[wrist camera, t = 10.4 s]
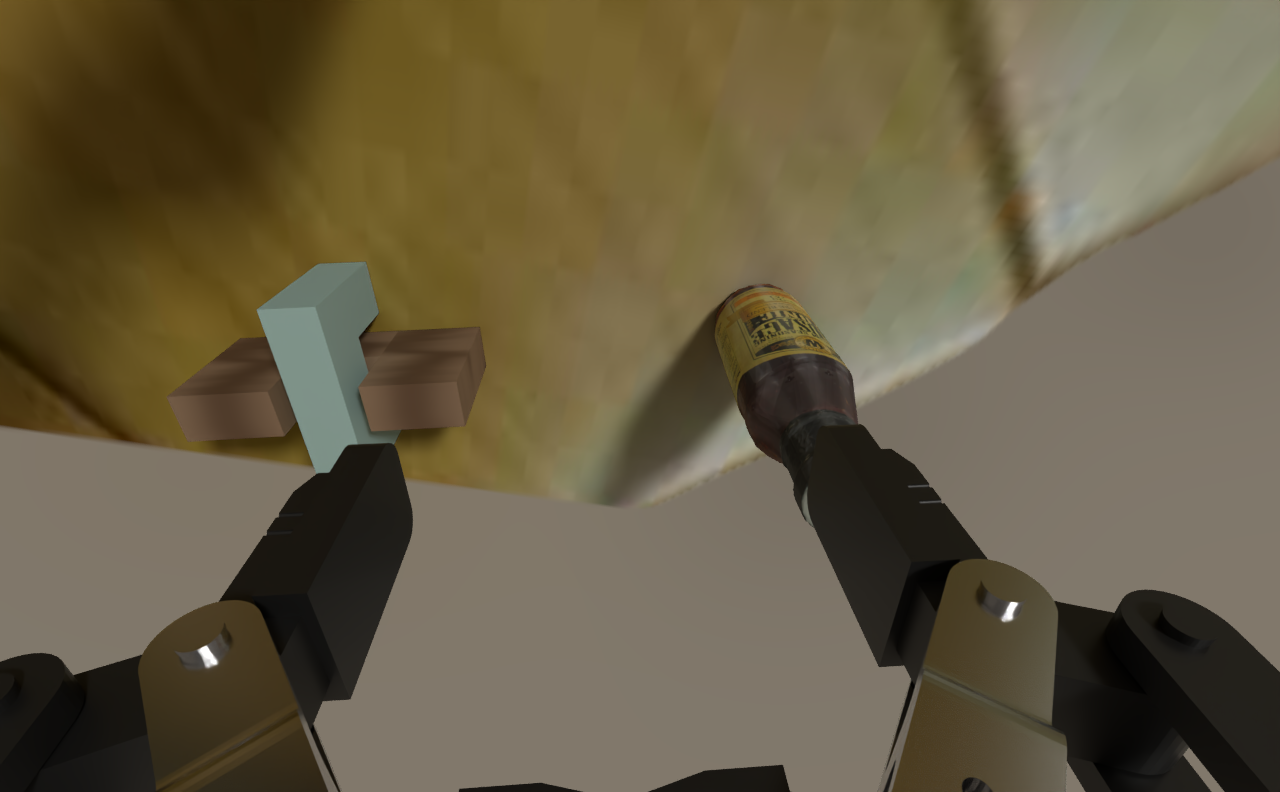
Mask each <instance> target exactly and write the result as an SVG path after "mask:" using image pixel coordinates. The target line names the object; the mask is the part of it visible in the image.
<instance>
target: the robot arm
mask: <svg viewBox="0 0 1280 792" xmlns="http://www.w3.org/2000/svg"><path fill="white" fill-rule="evenodd" d="M807 504H808V511H809V515H810V519H811V521H812V524H813V526H814V528H815V530H816V532H817V534H818V537H819V539H820V541H821V543H822V545H823V547H824V549H825V552H826V554H827V556H828V558H829V560H830V562H831V564H832V566H833V569H834V571H835V573H836V575H837V577H838V580H839V582H840V584H841V586H842V588H843V590H844V593H845V595H846V597H847V599H848V601H849V603H850V606H851V608H852V610H853V612H854V614H855V616H856V618H857V621H858V623H859V625H860V627H861V629H862V631H863V634H864V636H865V638H866V640H867V642H868V644H869V646H870V649H871V651H872V653H873V655H874V657H875V659H876V661H877V664H878V666H879V667H887V666H901V665H902V666H903V665H904V666H905V668H906V669H907V671H908V673H909V675H910V678H911V681H910V683H909V687H908V689H907V692H906V696H905V699H904V703H903V706H902V710H901V713H900V716H899V720H898V723H897V727H896V730H895V734H894V737H893V741H892V744H891V747H890V751H889V754H888V758H887V761H886V765H885V768H884V772H883V775H882V778H881V782H880V785H879V788H878V792H1066V769H1067V762H1068V764H1069V765H1070V767H1071V769H1072V770H1073V772H1074V773H1075V775H1076V776H1077V778H1078V780H1079V782H1080V783H1081V785H1082V787H1083V788H1084V790H1085V791H1086V792H1211V791H1210V789H1209V788H1208V787H1207V786H1206V784H1205V783H1204V782H1203V780H1202V779H1201V778H1200V777H1199V775H1198V774H1197V773H1196V771H1195V770H1194V769H1193V768H1192V766H1191V765H1190V764H1189V762H1188V761H1187V760H1186V759H1185V757H1184V756H1183V754H1184V753H1185V751H1186V750H1187V749H1188V748H1190V749H1191V750H1192V751H1193V753H1194V754H1195V755H1196V756H1197V758H1198V759H1199V760H1200V761H1201V763H1202V764H1203V765H1204V766H1205V768H1206V769H1207V770H1208V771H1209V773H1210V774H1211V775H1212V776H1213V778H1214V779H1215V780H1216V781H1217V783H1218V784H1219V785H1220V786H1221V788H1222V789H1223V790H1224V791H1225V792H1280V672H1279V671H1278V670H1277V669H1276V668H1275V667H1274V666H1273V665H1272V664H1270V662H1269V661H1268V660H1267V659H1266V658H1265V657H1263V656H1262V655H1261V654H1260V653H1259V652H1258V651H1257V650H1256V649H1255V648H1254V647H1253V646H1252V645H1251V644H1250V643H1249V642H1248V641H1247V640H1246V639H1245V638H1244V637H1243V636H1242V635H1241V634H1240V633H1239V632H1238V631H1237V630H1235V629H1234V628H1233V627H1232V626H1231V625H1230V624H1228V623H1227V622H1226V621H1225V620H1223V619H1222V618H1221V617H1219V616H1218V615H1216V614H1215V613H1213V612H1211V611H1210V610H1208V609H1207V608H1204V607H1203V606H1201V605H1199V604H1197V603H1195V602H1193V601H1190V600H1188V599H1186V598H1182V597H1180V596H1177V595H1174V594H1170V593H1167V592H1162V591H1156V590H1137V591H1134V592H1131V593H1129V594H1127V595H1126V596H1125V597H1124V598H1123V599H1122V601H1121V602H1120V604H1119V606H1118V608H1117V609H1116V611H1115V613H1112V612H1107V611H1102V610H1097V609H1092V608H1087V607H1081V606H1076V605H1071V604H1066V603H1061V602H1057V601H1054V600H1053V599H1052V597H1051V596H1050V594H1049V593H1048V592H1047V591H1046V590H1045V588H1044V587H1042V586H1041V585H1040V584H1039V583H1038V582H1037V581H1036V580H1034V579H1033V578H1031V577H1030V576H1029V575H1027V574H1025V573H1024V572H1022V571H1020V570H1018V569H1016V568H1014V567H1012V566H1009V565H1007V564H1004V563H1000V562H997V561H992V560H988V559H987V557H986V556H985V555H984V554H983V552H982V551H981V550H980V548H979V547H978V546H977V545H976V543H975V542H974V541H973V539H972V538H971V537H970V536H969V535H968V533H967V532H966V530H965V529H964V528H963V527H962V525H961V524H960V523H959V521H958V520H957V519H956V518H955V516H954V515H953V514H952V512H951V511H950V510H949V509H948V507H947V506H946V505H945V503H943V504H942V503H941V499H940V497H939V496H938V495H937V493H936V492H935V491H934V489H933V488H930V487H929V483H928V482H927V480H926V479H925V478H924V476H923V475H922V474H921V473H920V471H919V470H918V469H917V467H916V466H915V465H914V464H913V463H911V462H910V461H908V460H907V459H905V458H904V457H902V456H901V455H899V454H898V453H896V452H895V451H893V450H892V449H881V448H880V447H879V446H878V444H877V443H876V442H875V440H874V439H873V437H872V436H871V435H870V433H869V432H868V430H867V429H866V428H865V427H864V426H863V425H861V424H854V425H830V426H821V427H820V428H819V430H818V433H817V437H816V442H815V448H814V454H813V460H812V465H811V471H810V477H809V483H808V489H807ZM412 526H413V516H412V508H411V503H410V499H409V495H408V491H407V487H406V483H405V479H404V475H403V472H402V468H401V464H400V460H399V456H398V452H397V450H396V448H395V446H394V445H393V444H392V443H374V444H351V445H347V446H346V447H345V448H344V450H343V451H342V453H341V455H340V456H339V458H338V459H337V461H336V463H335V464H334V466H333V467H332V469H331V470H330V472H329V473H317V474H316V475H315V476H313V477H312V478H311V479H310V480H308V481H307V482H306V483H304V484H303V485H302V486H301V487H299V488H298V489H297V490H295V491H294V492H293V494H292V495H291V496H290V498H289V499H288V501H287V502H286V504H285V505H284V507H283V508H282V510H281V511H280V513H279V518H275V520H274V521H273V523H272V524H271V526H270V527H269V529H268V530H267V536H263V537H262V539H261V541H260V542H259V543H258V545H257V546H256V548H255V549H254V551H253V552H252V554H251V555H250V557H249V558H248V559H247V561H246V563H245V564H244V565H243V567H242V568H241V570H240V571H239V573H238V574H237V576H236V577H235V579H234V580H233V582H232V583H231V585H230V586H229V588H228V589H227V590H226V592H225V593H224V595H223V596H222V598H221V599H220V601H219V602H216V603H212V604H209V605H206V606H203V607H201V608H198V609H195V610H193V611H192V612H189V613H187V614H186V615H184V616H182V617H180V618H179V619H177V620H175V621H174V622H173V623H171V624H170V625H168V626H167V627H166V628H165V629H163V630H162V631H161V632H160V633H159V634H158V635H157V636H156V637H155V638H154V639H153V640H152V641H151V642H150V644H149V645H148V646H147V648H146V649H145V651H144V653H143V654H142V655H140V656H137V657H133V658H130V659H126V660H123V661H120V662H116V663H113V664H109V665H106V666H103V667H99V668H96V669H93V670H89V671H86V672H83V673H79V674H76V675H73V674H72V673H71V672H70V671H69V669H68V668H67V667H66V665H65V664H64V663H63V661H62V660H61V659H59V658H58V657H57V656H54V655H52V654H46V653H33V654H27V655H21V656H17V657H14V658H10V659H7V660H5V661H2V662H0V792H342V790H341V788H340V785H339V783H338V780H337V778H336V776H335V773H334V771H333V768H332V766H331V763H330V761H329V758H328V756H327V754H326V751H325V749H324V746H323V744H322V741H321V739H320V736H319V734H318V732H317V729H316V727H315V725H314V721H315V718H316V716H317V713H318V711H319V709H320V706H321V704H322V701H332V700H348V699H351V696H352V694H353V691H354V688H355V685H356V683H357V680H358V678H359V675H360V672H361V669H362V667H363V664H364V662H365V658H366V656H367V654H368V651H369V648H370V646H371V643H372V640H373V638H374V635H375V632H376V629H377V627H378V624H379V621H380V619H381V616H382V614H383V611H384V608H385V606H386V603H387V600H388V598H389V595H390V592H391V589H392V587H393V584H394V582H395V579H396V576H397V574H398V571H399V568H400V566H401V563H402V560H403V558H404V555H405V552H406V550H407V547H408V544H409V542H410V538H411V534H412ZM459 792H581V791H577V790H572V789H567V788H562V787H558V786H553V785H548V784H544V783H533V784H519V785H506V786H491V787H478V788H466V789H459ZM649 792H790V790H789V787H788V783H787V779H786V775H785V772H784V768H783V765H776V766H761V767H748V768H735V769H721V770H708V771H703V772H701V773H698V774H695V775H692V776H689V777H687V778H684V779H681V780H679V781H676V782H673V783H671V784H668V785H665V786H663V787H660V788H657V789H655V790H652V791H649Z"/></svg>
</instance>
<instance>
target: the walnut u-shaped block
mask: <svg viewBox="0 0 1280 792" xmlns="http://www.w3.org/2000/svg"><path fill="white" fill-rule="evenodd" d="M359 341H360V344H361V348H362V351H363V355H364V359H365V362H366V366H367V369H368V374H367V375H366V377H365V378H364V380H363V381H362V382H361V384H360V385H359V387H358V388H359V392H360V395H361V398H362V402H363V405H364V409H365V412H366V415H367V419H368V422H369V426H370V429H371V431H388V430H406V429H424V428H442V427H460V426H465V425H466V422H467V419H468V417H469V414H470V411H471V408H472V405H473V402H474V399H475V397H476V394H477V391H478V388H479V385H480V382H481V379H482V377H483V374H484V371H485V368H486V362H485V356H484V350H483V344H482V338H481V333H480V327H471V328H450V329H429V330H408V331H387V332H366V333H362V334H361V335H360V336H359ZM167 399H168V401H169V403H170V405H171V407H172V409H173V412H174V414H175V416H176V418H177V420H178V422H179V424H180V426H181V428H182V430H183V432H184V434H185V436H186V439H187V441H188V442H189V441H207V440H225V439H243V438H261V437H279V436H285V435H286V434H287V433H288V431H289V430H290V429H291V428H292V427H293V425H294V424H295V423H296V422H297V419H296V416H295V414H294V411H293V408H292V406H291V403H290V400H289V397H288V395H287V392H286V389H285V386H284V384H283V381H282V378H281V375H280V373H279V370H278V367H277V364H276V362H275V359H274V356H273V353H272V351H271V348H270V345H269V342H268V340H267V337H261V338H240V339H239V340H238V341H237V342H235V343H234V344H233V345H231V346H230V347H229V348H228V349H226V350H225V351H224V352H223V353H221V354H220V355H219V356H218V357H216V358H215V359H214V360H213V361H211V362H210V363H209V364H207V365H206V366H205V367H204V368H202V369H201V370H200V371H199V372H197V373H196V374H195V375H194V376H192V377H191V378H190V379H189V380H187V381H186V382H185V383H184V384H182V385H181V386H180V387H178V388H177V389H176V390H175V391H173V392H172V393H171V394H170V395H168V396H167Z"/></svg>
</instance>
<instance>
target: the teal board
mask: <svg viewBox="0 0 1280 792" xmlns="http://www.w3.org/2000/svg"><path fill="white" fill-rule="evenodd" d="M257 312H258V315H259V318H260V320H261V323H262V326H263V329H264V331H265V334H266V337H267V340H268V342H269V345H270V348H271V351H272V353H273V356H274V359H275V362H276V364H277V367H278V370H279V373H280V375H281V378H282V381H283V384H284V386H285V389H286V392H287V395H288V397H289V400H290V403H291V406H292V408H293V411H294V414H295V416H296V419H297V422H298V425H299V427H300V430H301V433H302V436H303V438H304V441H305V444H306V447H307V449H308V452H309V455H310V458H311V460H312V463H313V466H314V469H315V471H316V474H317V473H329V472H330V470H331V469H332V467H333V466H334V464H335V463H336V461H337V459H338V458H339V456H340V455H341V453H342V451H343V450H344V448H345V447H346V446H347V445H351V444H374V443H392V444H393V445H394V443H395V441H396V440H397V438H398V436H399V434H400V432H401V430H388V431H371V429H370V426H369V422H368V419H367V415H366V412H365V409H364V405H363V402H362V398H361V395H360V392H359V388H358V387H359V385H360V384H361V382H362V381H363V380H364V378H365V377H366V375H367V374H368V369H367V366H366V362H365V359H364V355H363V351H362V348H361V344H360V341H359V336H360V335H361V334H362V332H363V331H364V330H365V329H366V328H367V326H368V325H369V324H370V323H371V322H372V321H373V319H374V318H375V317H376V316H377V315H378V313H379V311H378V307H377V304H376V300H375V296H374V292H373V288H372V284H371V280H370V276H369V272H368V268H367V265H366V262H352V263H328V264H317V265H316V266H315V267H313V268H312V269H311V270H309V271H308V272H307V273H305V274H304V275H303V276H301V277H300V278H299V279H297V280H296V281H294V282H293V283H292V284H290V285H289V286H288V287H286V288H285V289H284V290H282V291H281V292H280V293H278V294H277V295H276V296H274V297H273V298H272V299H270V300H269V301H268V302H266V303H265V304H264V305H262V306H261V307H260V308H258V309H257Z"/></svg>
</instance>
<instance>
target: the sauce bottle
mask: <svg viewBox="0 0 1280 792" xmlns="http://www.w3.org/2000/svg"><path fill="white" fill-rule="evenodd" d="M715 340H716V344H717V347H718V350H719V353H720V356H721V359H722V362H723V365H724V368H725V371H726V374H727V377H728V380H729V382H730V385H731V388H732V391H733V394H734V397H735V399H736V402H737V405H738V408H739V411H740V413H741V415H742V416H743V418H744V419H745V423H746V426H747V429H748V432H749V434H750V436H751V438H752V439H753V441H754V443H755V445H756V447H758V448H759V449H760V450H761V451H763V452H764V453H765V454H766V455H767V456H769V457H771V458H772V459H775V460H776V461H778V462H779V463H783V465H784V466H785V467H786V468H787V469H788V471H789V473H790V475H791V478H792V480H793V482H794V489H793V491H794V496H795V500H796V502H797V504H798V506H799V509H800V510H801V513H802V515H803V517H804V519H805V520H806V521H807V522H808V523H809V524H810V525H811V526H812V527H814V526H813V524H812V521H811V519H810V515H809V511H808V504H807V489H808V483H809V477H810V471H811V465H812V460H813V454H814V448H815V442H816V437H817V433H818V430H819V428H820V427H821V426H830V425H854V424H858V419H857V411H856V403H855V395H854V386H853V378H852V375H851V373H850V371H849V370H848V368H847V367H846V365H845V364H844V363H843V361H842V360H841V359H840V357H839V356H838V354H837V353H836V352H835V351H834V349H833V348H832V346H831V345H830V344H829V342H828V341H827V340H826V338H825V337H824V335H823V334H822V333H821V332H820V330H819V329H818V327H817V326H816V325H815V324H814V322H813V321H812V320H811V318H810V317H809V316H808V314H807V313H806V312H805V310H804V309H803V308H802V306H801V305H800V304H799V302H798V301H797V300H796V299H795V298H794V297H792V296H791V295H790V294H788V293H786V292H784V291H783V290H782V289H781V288H778V287H775V286H773V285H770V284H758V285H752V286H748V287H746V288H742V289H739V290H737V291H736V292H735V293H733V294H732V295H731V296H730V297H729V298H728V299H727V300H726V301H725V303H724V304H723V305H722V307H721V308H720V309H719V311H718V313H717V316H716V325H715Z"/></svg>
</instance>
